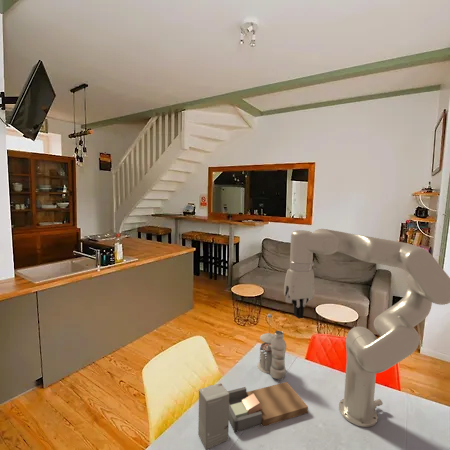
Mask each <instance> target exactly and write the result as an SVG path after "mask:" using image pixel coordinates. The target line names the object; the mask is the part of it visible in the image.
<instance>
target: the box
mask: <svg viewBox="0 0 450 450" xmlns="http://www.w3.org/2000/svg"><path fill="white" fill-rule="evenodd" d="M227 392H228V393H229V424H230V426H231V428H232V430H233V432H234V433H238V432H242V431H246V430H248V429H251V428H255V427H258V426H262V413H261V411H260V412H255V413H253V414H249V415H246V416H242V417H239V418H237V417H236V415H235V414H234V412H233V410H232V408H231V406H230V405H232V404H236V403H240V402H242V400H243V399H245V398H246V392H247V387H246V386H243V387H240V388H235V389H231V390H227Z"/></svg>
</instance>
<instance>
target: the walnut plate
mask: <svg viewBox="0 0 450 450" xmlns="http://www.w3.org/2000/svg"><path fill="white" fill-rule="evenodd" d="M253 393H254V395H255V396H256V398H257V399H258V401H259V403H260V405H261V408H262V409H260V410H258V411H257V412H260V411H261V413H262V425H261V426H262V427H267V426H270V425H273V424H277V423H280V422H283V421H288V420H290V419H293V418H296V417H299V416H303V415H306V414H308V413H309V406H308V405H307V404H306V402H305V401H304V400H303V399H302V398H301V396H300V395H299V394H298V393H297V392H296V391H295V390H294V388H293V387H292V386H291V385H290V384H289V383H288V381H285V382H281V383H277V384H273V385H269V386H265V387H262V388H258V389H253V390H250V391H246V397H248V396H250V395H251V394H253Z"/></svg>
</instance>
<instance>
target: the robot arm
mask: <svg viewBox="0 0 450 450" xmlns="http://www.w3.org/2000/svg"><path fill="white" fill-rule="evenodd" d="M337 252H338V253H342V254H345V255H347V256H350V257H352V258H355V259H357V260H359V261H362V262H366V263H370V264H377V265H382V266H383V265H384V266H389V267H394V268H397V269H398V268H399V269H402V270H404V271H405V272H407V273H408V275H407V277H406V283H407V284H406V285H407V286H406V292H405V293H404V295H403V297H402V298H401V299H400V300H399V301H397V302H396V303H394V304H393V305H392V306H390V307H389V308H387V309H385V310H384V311H383V312H381V313H380V314H378V315H377V316H376V317H375V318H374V321H373V327H374V329H375V331H376V332H377V333H378V334H377V335H379V337H378V338H377V336H376V335H375V334H374V333H373V332H372V331H371V330H370V329H369V328H367V327H365V326H359V325H358V326H354V327H352V328H351V329H350V330H349V331H348V332H347V334H346V337H345V338H346V340H345V348H346V349H345V350H346V365H345V379H344V380H345V382H344V395H343V399H341V400H340V401H339V403H338V410H339V413H340V414H341V416H342V418H344V419H345V420H346V421H348V422H350V423H351V424H353V425H355V426H358V427H361V428H370V427H373V426H375V425H376V424H377V422H378V413H377V411H376V408H377V407H380V406H383V400H382V399H380V398H378V399H375V389H376V380H377V379H376V377H377V374H380V373H383V372H386V371H388V370H389V369H391V368H392V367H394V366H395V365H397V364H398V363H400V362H401V361H403V360H405V359H407V358H408V357H409V356H411V355H413V353H414V352H416V351H417V349H418V348H419V345H420V341H421V340H420V334H419V332H418V331H417V330H416V328H415V327H416V326H417V325H419V324H420V323H421V322H423V321H424V320H425V319H427V318H428V316H429V314H430V313H431V309H432V305H433V304H435V305H439V306H443V305H444V306H445V305H448V304H450V276H449V275H448V274H447V273H446V271H445V270H444V269H443V267H442V266H441V265H440V264H439V262H438V261H437V259H436V258H435V257H434V256H433V254H431V253H430V252H429V251H428V250H426V249H425V248H423V247H420V246H417V245H414V244H411V243H407V242H403V241H396V240H390V239H385V238H379V237H378V238H377V237H374V236H369V235H368V236H367V235H362V234H361V235H360V234H355V233H349V232H346V231H345V232H343V231H339V230H333V229H328V228H327V229H326V228H318V229H315V230H314V231H313V232H312V231H310V230H300V229H297V230H293V231H292V232H291V235H290V252H289V253H290V254H289V255H290V256H289V268H288V269H287V270H286V274H285V277H284V278H285V279H284V283H283V284H284V285H283V295H284V296H285V300H284V301H285V302H286V303H288V304H292V305H293V315H294V316H295V318H297V319H303V318H304V311H305V307H307V306H306V305H307V303H308V302H309V301H311V300H313V299H314V295H315V291H316V290H315V287H316V286H315V272H314V269H313V266H315V262H314V261H313V260H314V259H313V258H314V254H320V255H326V256H328V255H332V254H333V255H334V254H335V253H337Z"/></svg>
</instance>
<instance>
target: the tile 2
mask: <svg viewBox="0 0 450 450" xmlns="http://www.w3.org/2000/svg"><path fill="white" fill-rule="evenodd" d="M242 403H243V405H244V406H245V408H246V410H247V412H248V415H249V414H253V413H255V412H257V411H258V410H260V409H262V408H261V405H260V403H259V401H258V399H257V398H256V396H255V395H254V393H253V394H251V395H250V396H248V397H246V398H245V399H243V400H242Z"/></svg>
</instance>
